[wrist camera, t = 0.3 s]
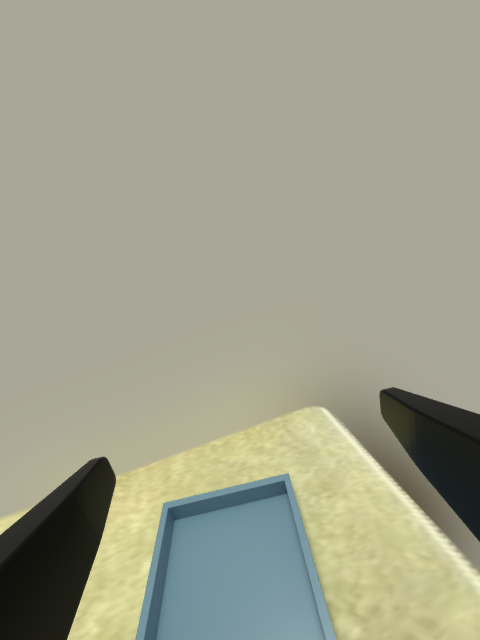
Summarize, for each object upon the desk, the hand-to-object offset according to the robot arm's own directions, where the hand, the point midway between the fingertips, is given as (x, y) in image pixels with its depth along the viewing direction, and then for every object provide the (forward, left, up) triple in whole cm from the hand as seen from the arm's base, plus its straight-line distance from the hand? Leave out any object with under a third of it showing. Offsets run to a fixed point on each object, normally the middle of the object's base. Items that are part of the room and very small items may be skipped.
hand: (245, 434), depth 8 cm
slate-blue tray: (+3, +4, -16) cm, 17 cm away
